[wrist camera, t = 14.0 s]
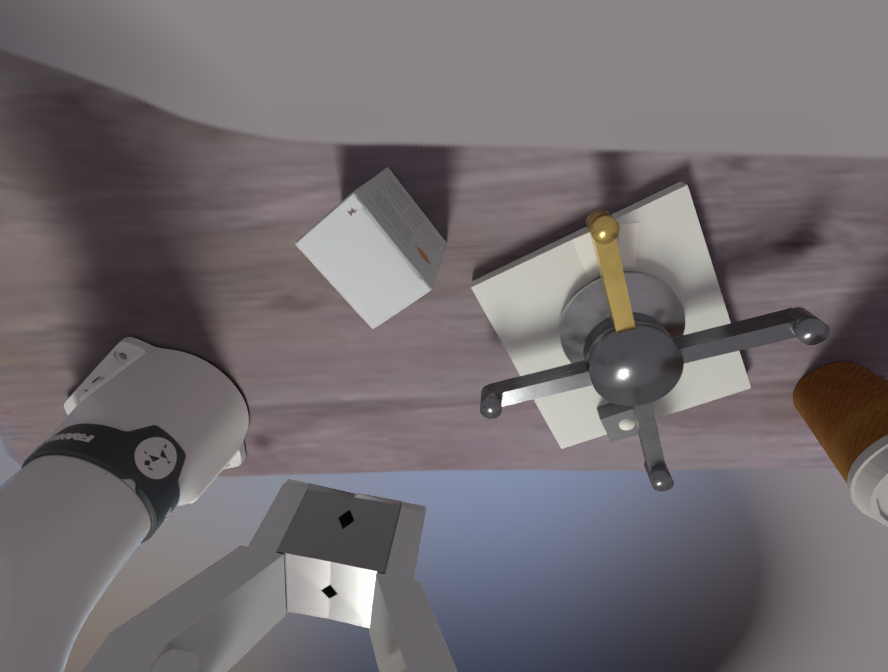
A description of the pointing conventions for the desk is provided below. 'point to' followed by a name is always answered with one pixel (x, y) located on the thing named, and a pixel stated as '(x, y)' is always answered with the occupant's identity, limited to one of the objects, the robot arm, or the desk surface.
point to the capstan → (637, 343)
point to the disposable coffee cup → (851, 428)
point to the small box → (376, 249)
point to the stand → (574, 264)
